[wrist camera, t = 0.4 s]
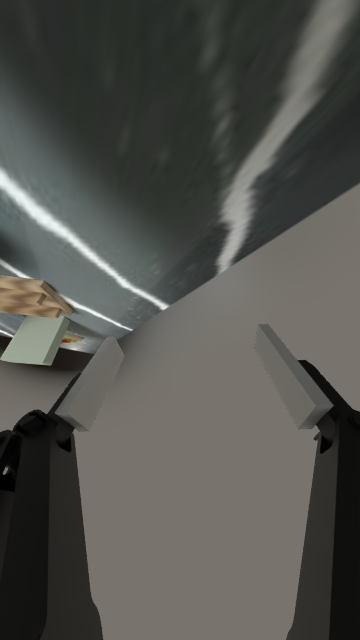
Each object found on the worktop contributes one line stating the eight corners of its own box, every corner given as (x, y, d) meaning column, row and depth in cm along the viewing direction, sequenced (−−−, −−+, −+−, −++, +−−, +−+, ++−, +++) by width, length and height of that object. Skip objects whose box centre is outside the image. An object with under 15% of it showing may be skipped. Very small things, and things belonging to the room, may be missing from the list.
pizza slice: (83, 335, 61) (81, 341, 60) (75, 344, 76) (73, 349, 74) (36, 323, 53) (31, 331, 51) (36, 336, 67) (33, 342, 65)
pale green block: (64, 316, 44) (42, 363, 38) (70, 321, 47) (50, 365, 41) (28, 312, 43) (-1, 359, 37) (37, 317, 46) (11, 362, 40)
